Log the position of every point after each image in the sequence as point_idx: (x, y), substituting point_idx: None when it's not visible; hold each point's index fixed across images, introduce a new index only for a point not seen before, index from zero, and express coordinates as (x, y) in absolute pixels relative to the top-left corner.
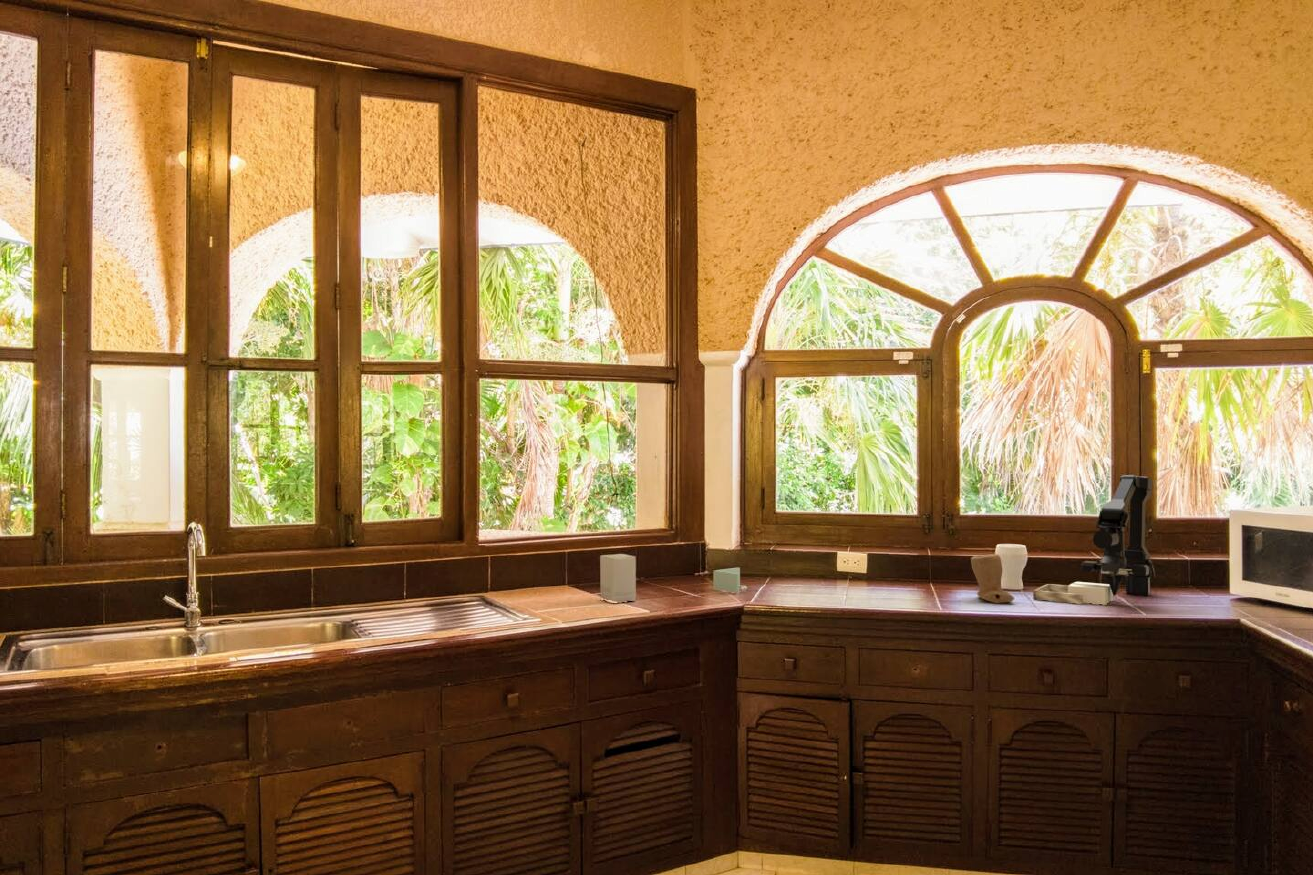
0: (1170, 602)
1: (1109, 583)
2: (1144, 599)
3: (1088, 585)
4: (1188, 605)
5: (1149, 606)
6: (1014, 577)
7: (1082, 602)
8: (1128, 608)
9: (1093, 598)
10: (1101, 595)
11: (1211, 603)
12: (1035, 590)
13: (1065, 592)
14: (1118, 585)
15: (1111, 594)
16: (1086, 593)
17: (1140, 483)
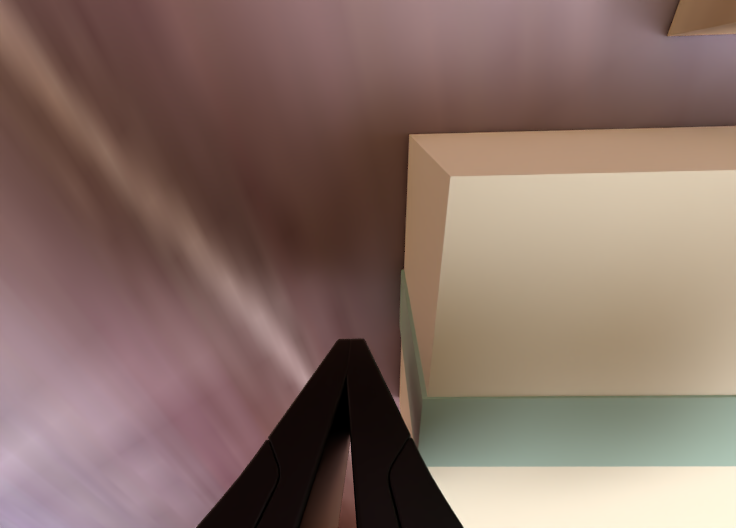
0: (126, 476)
1: (414, 464)
2: None
3: (726, 400)
4: (8, 450)
5: (103, 312)
6: None
7: (699, 3)
8: (144, 78)
9: (570, 138)
10: (480, 152)
11: (5, 521)
12: None
13: None
14: (265, 443)
15: (405, 412)
16: (727, 146)
17: None
